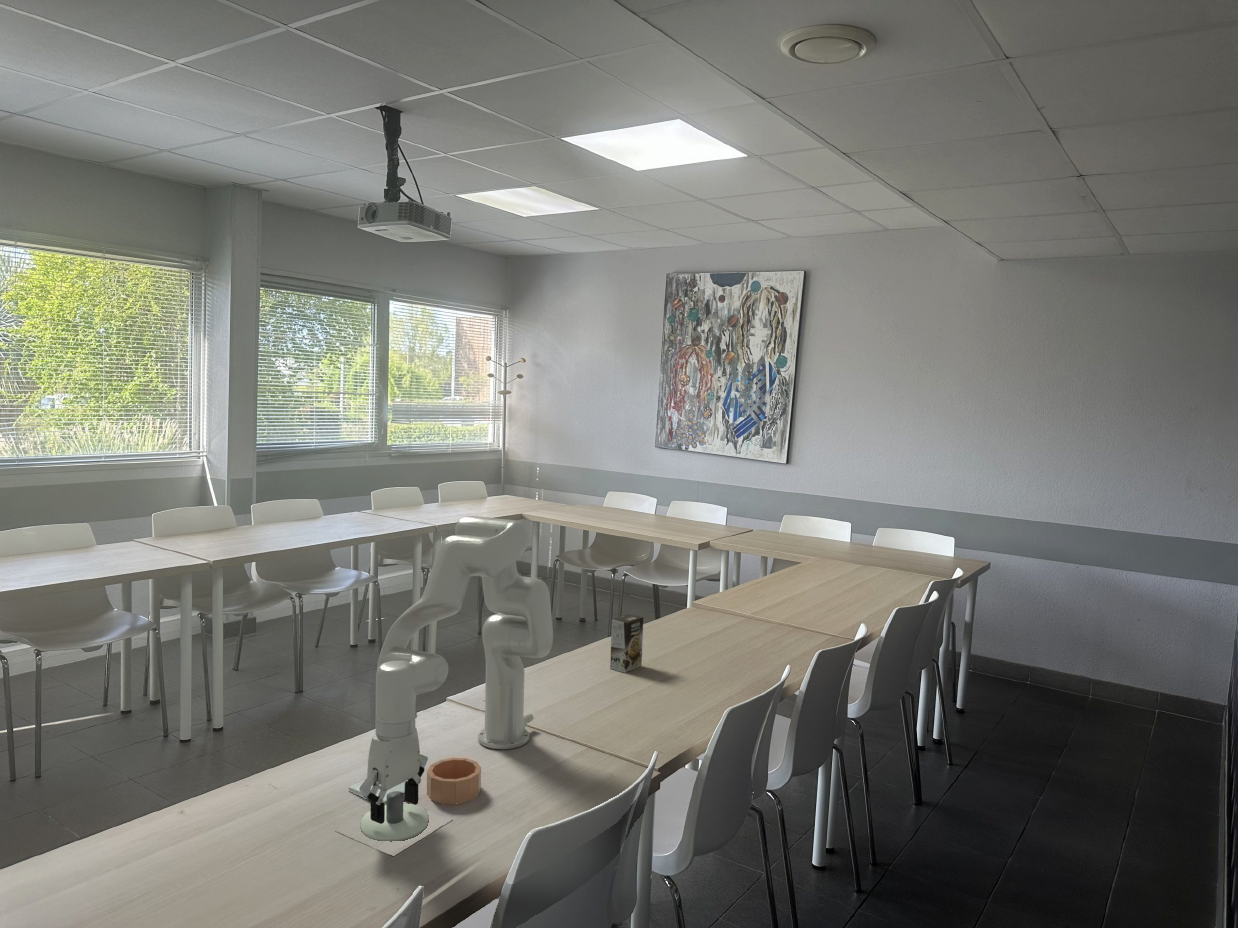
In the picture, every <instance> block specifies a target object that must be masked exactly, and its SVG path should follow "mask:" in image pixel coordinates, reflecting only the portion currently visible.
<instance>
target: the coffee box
mask: <svg viewBox="0 0 1238 928" xmlns="http://www.w3.org/2000/svg"><path fill="white" fill-rule="evenodd" d="M610 633H611V634H610V635H611V639H610V657H609V658H610V660H609V668H610V669H611V670H614V671H618V672H620V673H628V672H631V671H632V670H635V669H638V668H640V667H642V666H643V665H642V663H643V642H644V641H643V639H644V638H643V637H644V636H643V635H644V617H643V616H639V615H635V614H634V615H633V614H629V613H628V614H625V615H621V616H619V617H615V618H612V619H611V632H610Z"/></svg>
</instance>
